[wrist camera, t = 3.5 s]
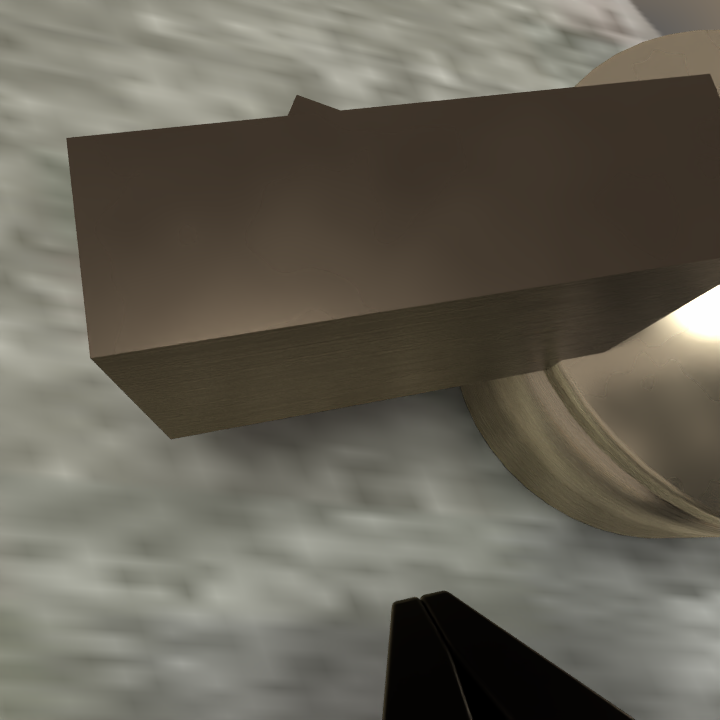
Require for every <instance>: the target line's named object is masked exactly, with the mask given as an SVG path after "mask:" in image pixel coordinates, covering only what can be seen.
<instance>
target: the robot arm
mask: <svg viewBox="0 0 720 720" xmlns="http://www.w3.org/2000/svg"><path fill="white" fill-rule="evenodd" d="M382 720H635V719H634V718H632V717H631V716H629V715H628V714H627V713H625V712H624V711H622V710H621V709H619V708H618V707H616V706H615V705H613V704H612V703H610V702H609V701H607V700H606V699H605V698H603V697H602V696H600V695H599V694H597V693H596V692H594V691H593V690H591V689H590V688H588V687H587V686H585V685H584V684H583V683H581V682H580V681H578V680H577V679H575V678H574V677H572V676H571V675H569V674H568V673H566V672H565V671H564V670H562V669H561V668H559V667H558V666H556V665H555V664H553V663H552V662H550V661H549V660H547V659H546V658H544V657H543V656H542V655H540V654H539V653H537V652H536V651H534V650H533V649H531V648H530V647H528V646H527V645H525V644H524V643H522V642H521V641H520V640H518V639H517V638H515V637H514V636H512V635H511V634H509V633H508V632H506V631H505V630H503V629H502V628H500V627H499V626H498V625H496V624H495V623H493V622H492V621H490V620H489V619H487V618H486V617H484V616H483V615H481V614H480V613H478V612H477V611H476V610H474V609H473V608H471V607H470V606H468V605H467V604H465V603H464V602H462V601H461V600H459V599H458V598H456V597H455V596H454V595H452V594H451V593H449V592H447V591H439V592H435V593H430V594H426V595H423V596H422V597H421V598H420V599H419V598H417V597H413V598H408V599H404V600H400V601H396V602H394V603H393V605H392V611H391V623H390V635H389V646H388V658H387V670H386V681H385V693H384V705H383V717H382Z"/></svg>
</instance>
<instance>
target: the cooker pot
mask: <svg viewBox="0 0 720 720" xmlns="http://www.w3.org/2000/svg"><path fill="white" fill-rule="evenodd" d="M332 111H340V110H337V109H335V108H332V107H329V106H326V105H324V104H321V103H318V102H315V101H312V100H310V99H307V98H304V97H301V96H299V95H297V96H296V98H295V100H294V103H293V105H292V107H291V109H290V112H289V114H288V116H292V115H302V114H312V113H322V112H332ZM460 388H461V391H462V394H463V397H464V400H465V403H466V405H467V407H468V409H469V411H470V414H471V416H472V418H473V420H474V422H475V424H476V426H477V428H478V429H479V431H480V432H481V434H482V436H483V437H484V439H485V440H486V442H487V444H488V445H489V447H490V448H491V450H492V451H493V452H494V453H495V454H496V456H497V457H498V458H499V459H500V461H501V462H502V463H503V464H504V466H505V467H506V468H507V469H508V470H509V471H510V472H511V473H512V474H513V475H514V476H515V477H516V478H517V479H518V480H519V481H520V482H521V483H522V484H523V485H524V486H525V487H526V488H528V489H529V490H530V491H531V492H533V493H534V494H535V495H537V496H538V497H539V498H541V499H542V500H543V501H545V502H546V503H547V504H549V505H550V506H552V507H554V508H556V509H557V510H559V511H561V512H563V513H564V514H566V515H568V516H569V517H571V518H573V519H576V520H578V521H580V522H583V523H585V524H588V525H590V526H592V527H595V528H598V529H601V530H605V531H609V532H612V533H616V534H620V535H625V536H633V537H641V538H694V537H720V527H719V526H716V525H714V524H711V523H709V522H707V521H704V520H702V519H699V518H697V517H695V516H692V515H690V514H688V513H687V512H685V511H683V510H681V509H680V508H678V507H676V506H674V505H673V504H671V503H669V502H668V501H666V500H664V499H662V498H661V497H659V496H657V495H656V494H654V493H653V492H652V491H650V490H649V489H648V488H646V487H645V486H643V485H642V484H641V483H639V482H638V481H637V480H635V479H634V478H633V477H631V476H630V475H629V474H627V473H626V472H625V471H624V470H623V469H621V468H620V467H619V466H618V465H617V464H616V463H615V462H614V461H613V460H612V459H611V458H610V457H609V456H608V455H607V454H606V453H604V452H603V451H602V450H601V449H600V448H599V447H598V446H597V445H596V444H595V443H594V442H593V441H592V439H591V438H590V437H589V436H588V435H587V433H586V432H585V431H584V430H583V429H582V427H581V426H580V425H579V424H578V423H577V422H576V420H575V419H574V418H573V417H572V416H571V414H570V413H569V412H568V410H567V409H566V407H565V406H564V404H563V402H562V401H561V399H560V398H559V396H558V395H557V393H556V392H555V390H554V389H553V387H552V386H551V384H550V383H549V381H548V379H547V377H546V375H545V373H544V371H538V372H533V373H528V374H522V375H517V376H511V377H506V378H500V379H495V380H490V381H484V382H479V383H473V384H468V385H462V386H460Z"/></svg>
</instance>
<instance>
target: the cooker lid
mask: <svg viewBox="0 0 720 720" xmlns="http://www.w3.org/2000/svg"><path fill="white" fill-rule="evenodd" d="M66 139H67V148H68V157H69V166H70V176H71V185H72V194H73V203H74V212H75V222H76V231H77V240H78V249H79V258H80V268H81V277H82V286H83V295H84V304H85V314H86V323H87V332H88V341H89V350H90V358H91V359H92V360H93V361H94V362H95V363H96V364H97V365H98V366H99V367H100V368H101V369H102V370H103V371H104V372H105V373H106V374H107V375H108V376H109V377H110V378H111V379H112V380H113V381H114V382H115V384H116V385H117V386H118V387H119V388H120V389H121V390H122V391H123V392H124V393H125V394H126V395H127V396H128V397H129V398H130V399H131V400H132V401H133V402H134V403H135V404H136V405H137V406H138V407H139V408H140V409H141V410H142V411H143V412H144V413H145V414H146V415H147V416H148V417H149V418H150V419H151V420H152V421H153V422H154V423H155V424H156V425H157V426H158V427H159V428H160V429H161V430H162V431H163V432H164V433H165V434H166V435H167V436H168V437H169V438H170V439H175V438H180V437H186V436H191V435H197V434H202V433H208V432H213V431H218V430H224V429H229V428H235V427H240V426H246V425H251V424H256V423H262V422H267V421H273V420H278V419H284V418H289V417H294V416H300V415H305V414H311V413H316V412H321V411H327V410H332V409H338V408H343V407H349V406H354V405H359V404H365V403H370V402H376V401H381V400H387V399H392V398H397V397H403V396H408V395H414V394H419V393H425V392H430V391H435V390H441V389H446V388H452V387H457V386H462V385H468V384H473V383H479V382H484V381H490V380H495V379H500V378H506V377H511V376H517V375H522V374H528V373H533V372H538V371H544V373H545V375H546V377H547V379H548V381H549V383H550V384H551V386H552V387H553V389H554V390H555V392H556V393H557V395H558V396H559V398H560V399H561V401H562V402H563V404H564V406H565V407H566V409H567V410H568V412H569V413H570V414H571V416H572V417H573V418H574V419H575V420H576V422H577V423H578V424H579V425H580V426H581V427H582V429H583V430H584V431H585V432H586V433H587V435H588V436H589V437H590V438H591V439H592V441H593V442H594V443H595V444H596V445H597V446H598V447H599V448H600V449H601V450H602V451H603V452H604V453H606V454H607V455H608V456H609V457H610V458H611V459H612V460H613V461H614V462H615V463H616V464H617V465H618V466H619V467H620V468H621V469H623V470H624V471H625V472H626V473H627V474H629V475H630V476H631V477H633V478H634V479H635V480H637V481H638V482H639V483H641V484H642V485H643V486H645V487H646V488H648V489H649V490H650V491H652V492H653V493H654V494H656V495H657V496H659V497H661V498H662V499H664V500H666V501H668V502H669V503H671V504H673V505H674V506H676V507H678V508H680V509H681V510H683V511H685V512H687V513H688V514H690V515H692V516H695V517H697V518H699V519H702V520H704V521H707V522H709V523H711V524H714V525H716V526H719V527H720V30H696V31H690V32H683V33H676V34H670V35H666V36H662V37H659V38H656V39H652V40H649V41H645V42H642V43H640V44H638V45H635V46H633V47H631V48H629V49H627V50H624V51H622V52H620V53H618V54H616V55H614V56H613V57H611V58H610V59H608V60H607V61H605V62H604V63H602V64H601V65H599V66H598V67H596V68H595V69H593V70H592V71H591V72H590V73H589V74H588V75H587V76H586V77H585V78H583V79H582V80H581V81H580V82H579V83H578V84H577V85H576V86H575V87H571V88H561V89H551V90H541V91H531V92H521V93H511V94H501V95H491V96H481V97H471V98H461V99H451V100H441V101H432V102H422V103H412V104H402V105H392V106H382V107H372V108H362V109H352V110H342V111H332V112H322V113H312V114H302V115H292V116H282V117H272V118H262V119H252V120H242V121H232V122H222V123H212V124H202V125H192V126H182V127H172V128H162V129H152V130H142V131H132V132H122V133H112V134H102V135H92V136H82V137H72V138H66Z"/></svg>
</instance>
